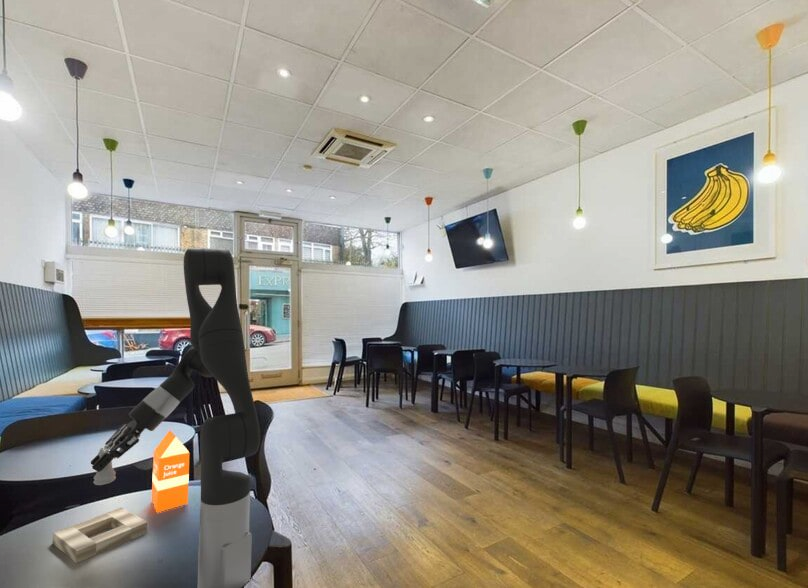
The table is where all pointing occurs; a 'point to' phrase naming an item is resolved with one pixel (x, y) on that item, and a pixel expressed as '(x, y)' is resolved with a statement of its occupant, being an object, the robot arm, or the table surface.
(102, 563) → the table surface
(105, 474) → the rook chess piece
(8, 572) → the table surface
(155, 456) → the orange juice
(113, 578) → the table surface
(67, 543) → the wooden square ring
